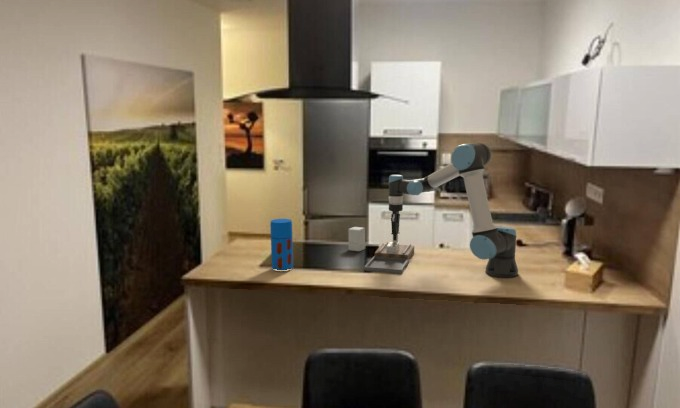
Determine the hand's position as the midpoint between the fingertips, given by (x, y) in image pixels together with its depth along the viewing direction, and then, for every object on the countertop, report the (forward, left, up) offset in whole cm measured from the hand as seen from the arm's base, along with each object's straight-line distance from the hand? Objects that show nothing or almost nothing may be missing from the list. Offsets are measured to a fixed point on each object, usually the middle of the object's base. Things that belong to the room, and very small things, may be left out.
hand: (395, 245), depth 276 cm
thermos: (+50, +40, -6) cm, 64 cm away
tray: (0, +21, -6) cm, 22 cm away
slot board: (0, +1, -6) cm, 6 cm away
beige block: (0, +8, -2) cm, 8 cm away
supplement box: (+24, -8, -6) cm, 26 cm away
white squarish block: (0, +3, -2) cm, 4 cm away
